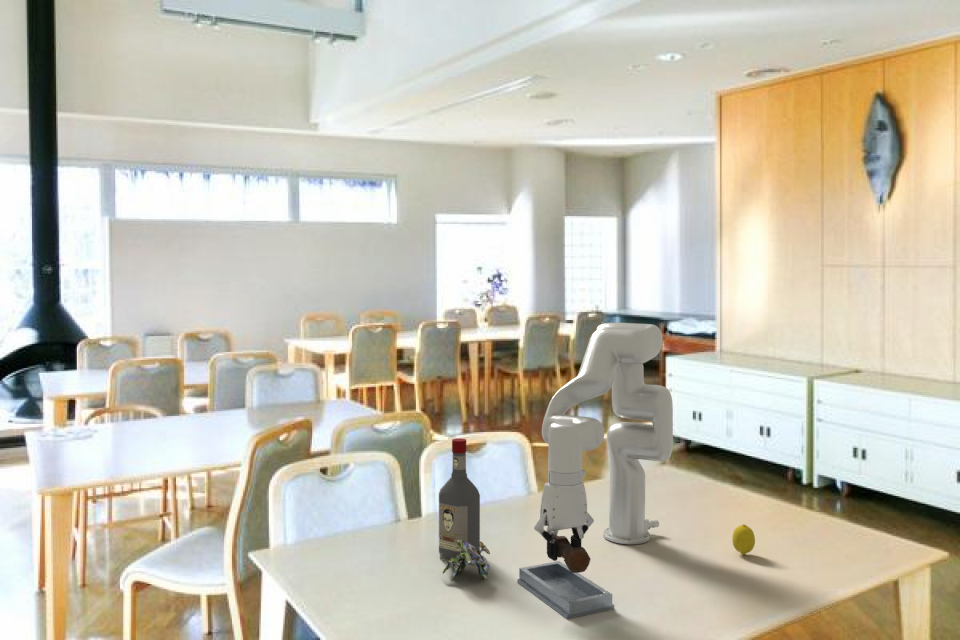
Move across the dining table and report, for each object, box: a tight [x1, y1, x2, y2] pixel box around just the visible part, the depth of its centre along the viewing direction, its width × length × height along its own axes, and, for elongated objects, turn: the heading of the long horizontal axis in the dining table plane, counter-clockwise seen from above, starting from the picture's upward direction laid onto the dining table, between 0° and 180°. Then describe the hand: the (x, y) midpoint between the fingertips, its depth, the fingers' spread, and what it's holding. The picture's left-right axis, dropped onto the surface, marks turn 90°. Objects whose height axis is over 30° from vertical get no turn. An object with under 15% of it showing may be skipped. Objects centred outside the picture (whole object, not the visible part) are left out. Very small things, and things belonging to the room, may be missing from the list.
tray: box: [516, 560, 615, 620], centre depth 186 cm, size 12×22×3 cm, turn 26°
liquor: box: [438, 437, 481, 561], centre depth 210 cm, size 9×9×30 cm
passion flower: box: [439, 540, 491, 582], centre depth 195 cm, size 11×11×12 cm
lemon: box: [731, 523, 756, 556], centre depth 211 cm, size 6×6×8 cm
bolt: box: [555, 535, 591, 574], centre depth 185 cm, size 6×5×15 cm
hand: (564, 556), depth 185 cm, fingers closed on bolt, 5 cm apart
